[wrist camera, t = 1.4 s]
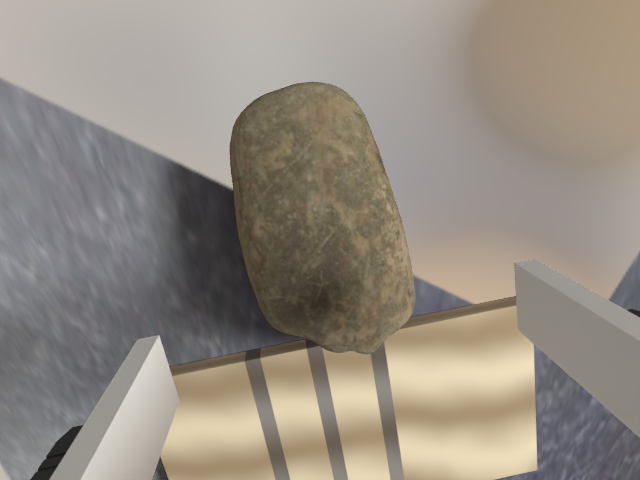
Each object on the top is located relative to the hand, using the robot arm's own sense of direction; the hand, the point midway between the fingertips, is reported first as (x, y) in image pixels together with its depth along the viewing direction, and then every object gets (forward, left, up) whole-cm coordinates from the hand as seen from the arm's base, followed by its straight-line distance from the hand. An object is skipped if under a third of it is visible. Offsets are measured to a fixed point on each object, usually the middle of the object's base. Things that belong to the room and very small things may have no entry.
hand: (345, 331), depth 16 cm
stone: (-2, 0, -12) cm, 12 cm away
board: (+14, 0, -12) cm, 18 cm away
